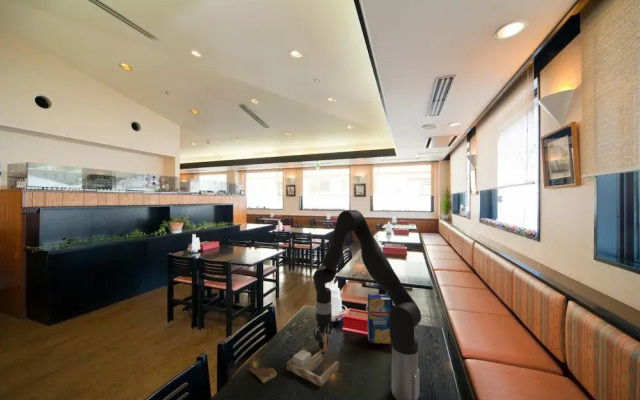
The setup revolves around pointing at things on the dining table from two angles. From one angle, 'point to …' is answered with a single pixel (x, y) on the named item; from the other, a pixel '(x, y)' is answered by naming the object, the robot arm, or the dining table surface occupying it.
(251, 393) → the dining table surface
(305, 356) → the corded block
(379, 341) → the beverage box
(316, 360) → the birch lanes
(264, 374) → the shard
